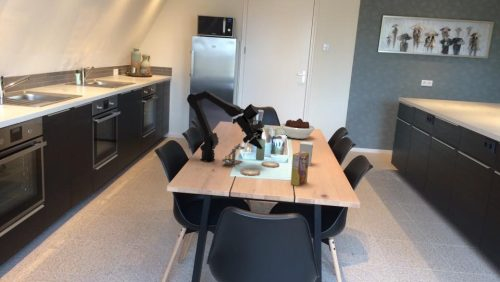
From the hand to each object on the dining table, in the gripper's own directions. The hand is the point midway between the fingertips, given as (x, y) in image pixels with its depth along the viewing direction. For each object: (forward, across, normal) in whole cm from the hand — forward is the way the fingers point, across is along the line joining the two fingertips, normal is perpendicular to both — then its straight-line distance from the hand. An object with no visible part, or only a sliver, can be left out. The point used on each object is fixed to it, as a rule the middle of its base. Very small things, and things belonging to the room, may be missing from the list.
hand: (263, 147), depth 223 cm
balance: (-4, +2, +21) cm, 21 cm away
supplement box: (+21, +25, -4) cm, 33 cm away
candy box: (+26, -15, -9) cm, 31 cm away
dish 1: (+6, -11, +10) cm, 16 cm away
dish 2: (+10, +11, +7) cm, 16 cm away
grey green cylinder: (+4, 0, +6) cm, 7 cm away
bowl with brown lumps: (+5, +101, +12) cm, 102 cm away
